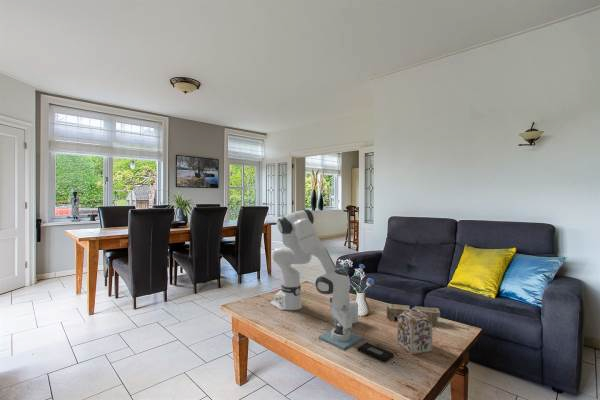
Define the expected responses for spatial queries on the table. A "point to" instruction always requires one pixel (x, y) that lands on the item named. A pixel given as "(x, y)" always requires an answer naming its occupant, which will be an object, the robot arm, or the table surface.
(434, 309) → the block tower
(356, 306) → the photo printer
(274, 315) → the table surface
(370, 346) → the vhs tape
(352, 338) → the dock
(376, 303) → the table surface
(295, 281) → the robot arm
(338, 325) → the dark grey block
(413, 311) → the decorative jar
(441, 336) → the table surface
